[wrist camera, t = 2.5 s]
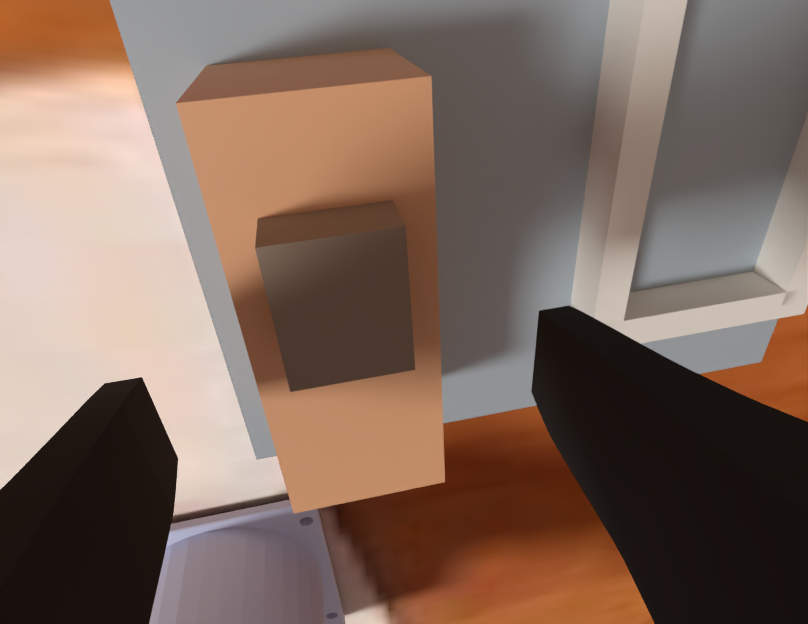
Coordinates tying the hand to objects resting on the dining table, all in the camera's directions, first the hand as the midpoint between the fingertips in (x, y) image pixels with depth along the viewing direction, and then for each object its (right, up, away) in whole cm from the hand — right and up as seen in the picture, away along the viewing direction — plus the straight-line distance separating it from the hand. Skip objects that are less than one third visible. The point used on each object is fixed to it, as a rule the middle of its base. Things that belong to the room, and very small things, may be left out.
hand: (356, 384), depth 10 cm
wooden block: (-1, +3, +4) cm, 5 cm away
